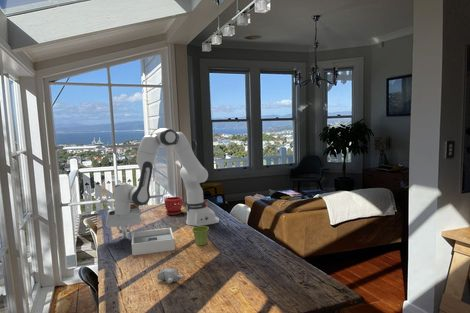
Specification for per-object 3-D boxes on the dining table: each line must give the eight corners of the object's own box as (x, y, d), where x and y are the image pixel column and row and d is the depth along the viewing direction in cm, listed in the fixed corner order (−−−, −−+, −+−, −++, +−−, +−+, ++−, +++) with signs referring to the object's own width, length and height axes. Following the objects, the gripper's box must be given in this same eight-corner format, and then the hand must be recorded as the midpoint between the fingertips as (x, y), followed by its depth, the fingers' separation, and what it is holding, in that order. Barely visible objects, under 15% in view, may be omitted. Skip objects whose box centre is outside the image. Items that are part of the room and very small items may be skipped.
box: (171, 237, 211) (170, 227, 210) (174, 249, 190) (174, 238, 189) (133, 242, 205) (132, 232, 205) (132, 255, 184) (131, 244, 183)
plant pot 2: (212, 241, 200) (211, 226, 199) (204, 247, 191) (203, 231, 190) (198, 240, 203) (197, 225, 203) (189, 245, 195) (188, 230, 194)
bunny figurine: (173, 263, 161) (187, 270, 148) (174, 274, 161) (188, 282, 148) (153, 269, 156) (165, 276, 143) (154, 280, 156) (167, 289, 143)
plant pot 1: (181, 215, 261) (180, 199, 260) (163, 216, 261) (162, 200, 260) (184, 211, 274) (183, 195, 273) (167, 211, 274) (166, 196, 273)
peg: (127, 237, 215) (126, 221, 214) (127, 238, 211) (126, 222, 210) (122, 237, 214) (121, 221, 213) (122, 239, 211) (120, 223, 210)
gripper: (140, 206, 217) (142, 228, 218) (105, 210, 211) (107, 233, 213) (140, 209, 210) (142, 231, 212) (104, 213, 205) (106, 236, 207)
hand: (124, 232), depth 212 cm, fingers closed on peg, 3 cm apart
